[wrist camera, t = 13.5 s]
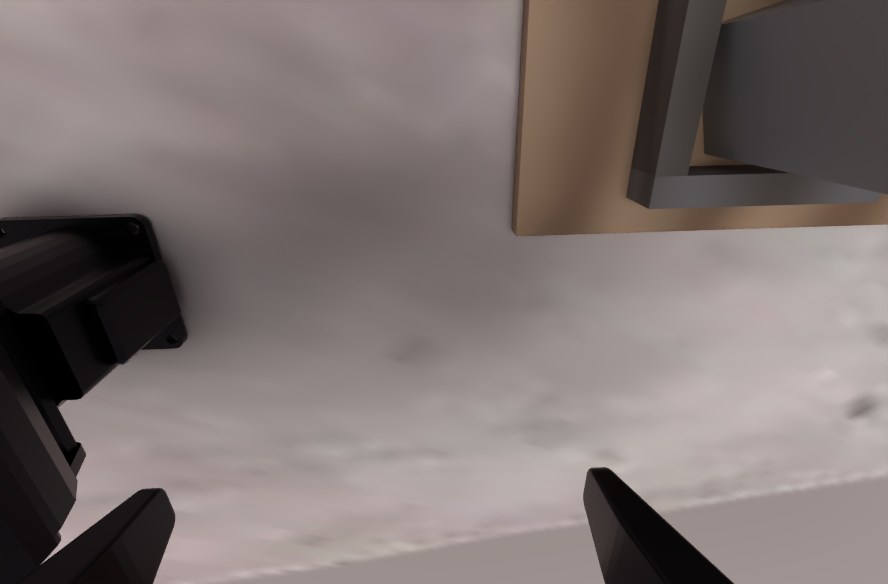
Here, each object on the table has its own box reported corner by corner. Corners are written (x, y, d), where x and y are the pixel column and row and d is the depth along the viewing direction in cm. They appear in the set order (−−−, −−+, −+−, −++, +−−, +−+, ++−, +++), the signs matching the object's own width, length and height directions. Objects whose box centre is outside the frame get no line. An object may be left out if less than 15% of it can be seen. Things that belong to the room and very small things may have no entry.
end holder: (512, 229, 19) (526, 251, 16) (529, -121, 14) (554, -172, 11) (895, 217, 20) (971, 237, 17) (1049, -125, 15) (1192, -174, 12)
